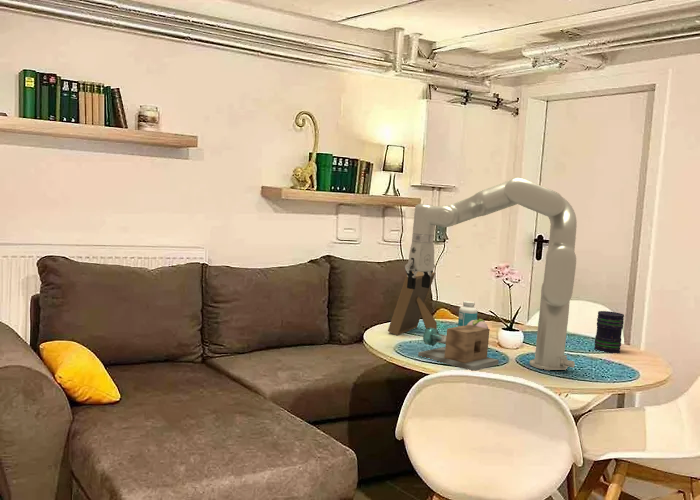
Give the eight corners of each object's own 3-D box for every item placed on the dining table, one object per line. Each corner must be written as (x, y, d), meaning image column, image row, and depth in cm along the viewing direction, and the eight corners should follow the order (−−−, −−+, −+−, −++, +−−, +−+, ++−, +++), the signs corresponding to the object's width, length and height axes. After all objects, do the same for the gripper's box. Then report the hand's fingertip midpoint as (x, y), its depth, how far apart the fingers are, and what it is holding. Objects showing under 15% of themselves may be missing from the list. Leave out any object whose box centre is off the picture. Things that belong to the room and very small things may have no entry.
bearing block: (498, 364, 238) (501, 330, 238) (473, 370, 226) (476, 335, 226) (443, 351, 253) (446, 319, 252) (418, 356, 241) (420, 323, 240)
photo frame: (387, 333, 277) (393, 270, 275) (407, 326, 296) (413, 267, 294) (422, 340, 270) (429, 275, 268) (440, 332, 290) (447, 272, 288)
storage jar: (622, 354, 272) (626, 316, 270) (595, 351, 274) (599, 313, 272) (617, 349, 281) (621, 312, 280) (592, 346, 283) (596, 310, 282)
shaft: (471, 352, 240) (472, 335, 239) (461, 354, 235) (463, 336, 235) (432, 343, 250) (433, 326, 250) (422, 345, 246) (423, 328, 245)
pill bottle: (478, 334, 290) (481, 302, 289) (471, 337, 283) (474, 304, 282) (461, 331, 294) (464, 299, 292) (454, 334, 287) (457, 301, 286)
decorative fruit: (468, 339, 279) (471, 314, 278) (489, 342, 275) (491, 317, 275) (461, 342, 271) (464, 317, 270) (482, 346, 267) (484, 320, 266)
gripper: (416, 240, 240) (412, 291, 241) (445, 240, 253) (440, 288, 254) (399, 238, 245) (395, 287, 246) (428, 238, 258) (423, 285, 259)
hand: (418, 287), depth 250 cm, fingers open, 8 cm apart
